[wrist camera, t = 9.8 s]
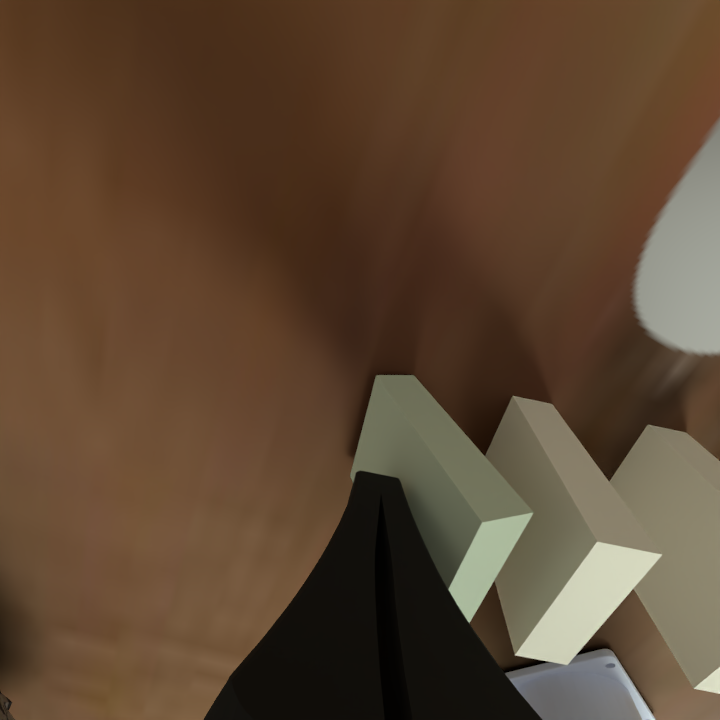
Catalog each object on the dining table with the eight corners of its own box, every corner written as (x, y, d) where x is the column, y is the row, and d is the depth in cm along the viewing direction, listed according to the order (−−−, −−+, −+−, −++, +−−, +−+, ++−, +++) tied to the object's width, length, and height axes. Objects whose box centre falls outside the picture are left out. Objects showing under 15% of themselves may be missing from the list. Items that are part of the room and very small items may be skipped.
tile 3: (686, 432, 15) (880, 598, 9) (621, 519, 17) (744, 698, 11) (647, 424, 15) (817, 585, 9) (588, 512, 17) (693, 688, 11)
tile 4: (552, 403, 15) (662, 554, 9) (504, 496, 17) (567, 664, 11) (512, 395, 15) (597, 541, 9) (469, 489, 17) (514, 655, 11)
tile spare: (413, 375, 14) (533, 512, 9) (383, 471, 17) (467, 627, 11) (376, 375, 14) (481, 522, 9) (350, 475, 16) (421, 642, 11)
